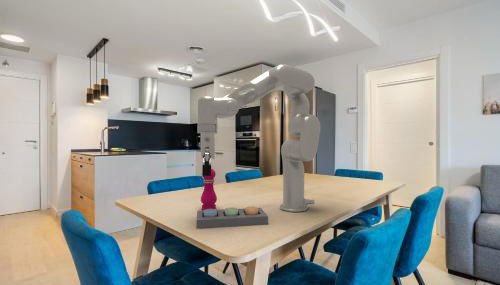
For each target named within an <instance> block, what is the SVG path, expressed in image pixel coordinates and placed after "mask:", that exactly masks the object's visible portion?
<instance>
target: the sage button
mask: <svg viewBox="0 0 500 285" xmlns="http://www.w3.org/2000/svg"><path fill="white" fill-rule="evenodd" d="M238 209H239V208H236V207H227V208H225V209H224V210H225V216H237V215H238Z"/></svg>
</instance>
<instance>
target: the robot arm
mask: <svg viewBox="0 0 500 285" xmlns="http://www.w3.org/2000/svg"><path fill="white" fill-rule="evenodd" d="M315 84H316V83H315V78H314V76H313V75H312V74H311V73H310V72H309V71H306V70H303V69H300V68H298V67H295V66H292V65H289V64H284V63H281V64H278V65H276V66H274V67H271V68H269V69H268V70H266V71H264V72H263V73H261V74H260V75H258V76H256V77H254V78H252V79H251V80H249V81H247V82H245V83H244V84H243V85H241V86H240V87H238V88H237V89H235V90H233V91H232V92H230V93H229V94H227V95H224V96H223V97H215V96H214V97H213V96H200V97H199V98H198V99H197V129H196V130H197V132H196V133H197V134H200V155H201V156H200V157H201V159H202V165H201V166H202V168H201V172H202V173H201V175H202V177H203V176H211V169H212V162H211V160H215V159H216V158H215V155H216V154H215V148H216V147H215V146H216V144H215V143H216V141H215V140H216V139H215V137H216V136H215V134H218V119H226V118H231V117H234V116H236V115H237V114H238V112H239V110H240V108H243V107H244V106H247V105H249V104H253V103H255V102H257V101H260V100H261V99H262V98H264V97H265V96H267V95H268V94H270V93H271V92H272V91H274V90H276V89H278V88H280V87H282V89H283V92H284V94H285V95H286V96H287V98H288V99H289V102H290V112H289V113H290V114H289V119H288V124H287V132H288V133H289V134H290V136H292V137H299V138H290V139H287V140H285V141H284V142H283V143H282V144H281V149H280V154H281V159H282V171H283V172H282V174H283V175H282V203H280V205H279V209H281V210H282V211H285V212H291V213H297V212H298V213H301V212H305V211H307V210H308V205H315V199H308V198H305V167H304V166H305V165H304V163H303V162H311V161H312V160H314V158H315V157H316V156H317V153H318V152H317V151H318V148H319V141H320V135H321V122H320V120H319V118H318V117H317V116H316V115H315V114H310V106H311V105H310V101H309V98H308V97H307V95H306V93H309V92H311V91H312V90H313V88H314V87H315Z"/></svg>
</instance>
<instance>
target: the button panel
mask: <svg viewBox="0 0 500 285" xmlns="http://www.w3.org/2000/svg"><path fill="white" fill-rule="evenodd" d="M257 208H258V214H255V215H245V208H237V209H238V215H237V216H225V209H216V210H217V217H204V210H197V211H196V229H197V230H198V229H213V228H214V229H215V228H229V227H231V228H232V227H245V226H262V225H263V226H264V225H269V216H268V214H267V213H266V212H265V211H264V210H263V208H262V207H257Z"/></svg>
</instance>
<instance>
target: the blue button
mask: <svg viewBox="0 0 500 285" xmlns="http://www.w3.org/2000/svg"><path fill="white" fill-rule="evenodd" d="M217 210H218V209H217V208H216V209H206V210H203V211H204V217H217Z"/></svg>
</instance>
